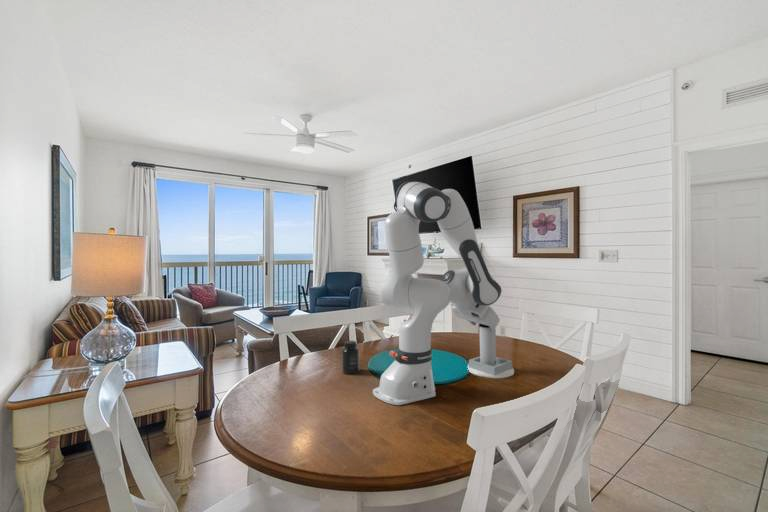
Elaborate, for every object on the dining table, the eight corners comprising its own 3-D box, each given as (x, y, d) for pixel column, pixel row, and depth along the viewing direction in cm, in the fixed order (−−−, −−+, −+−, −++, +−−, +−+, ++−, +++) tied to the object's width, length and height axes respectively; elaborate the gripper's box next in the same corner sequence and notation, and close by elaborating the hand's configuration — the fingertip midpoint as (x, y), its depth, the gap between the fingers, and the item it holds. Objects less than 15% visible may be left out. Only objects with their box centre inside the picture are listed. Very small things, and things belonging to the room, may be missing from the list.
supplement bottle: (360, 369, 146) (360, 339, 146) (357, 374, 140) (357, 344, 139) (343, 368, 147) (343, 339, 147) (340, 374, 140) (339, 344, 140)
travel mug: (499, 369, 141) (498, 319, 140) (483, 370, 140) (482, 319, 140) (493, 364, 147) (492, 316, 147) (478, 365, 146) (476, 316, 146)
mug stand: (496, 382, 131) (496, 371, 131) (458, 369, 145) (458, 359, 145) (523, 371, 142) (523, 361, 142) (484, 360, 156) (484, 351, 156)
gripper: (444, 306, 145) (460, 327, 151) (483, 316, 128) (500, 338, 134) (452, 294, 147) (468, 315, 153) (492, 302, 130) (508, 325, 136)
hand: (483, 326), depth 144 cm, fingers open, 8 cm apart
